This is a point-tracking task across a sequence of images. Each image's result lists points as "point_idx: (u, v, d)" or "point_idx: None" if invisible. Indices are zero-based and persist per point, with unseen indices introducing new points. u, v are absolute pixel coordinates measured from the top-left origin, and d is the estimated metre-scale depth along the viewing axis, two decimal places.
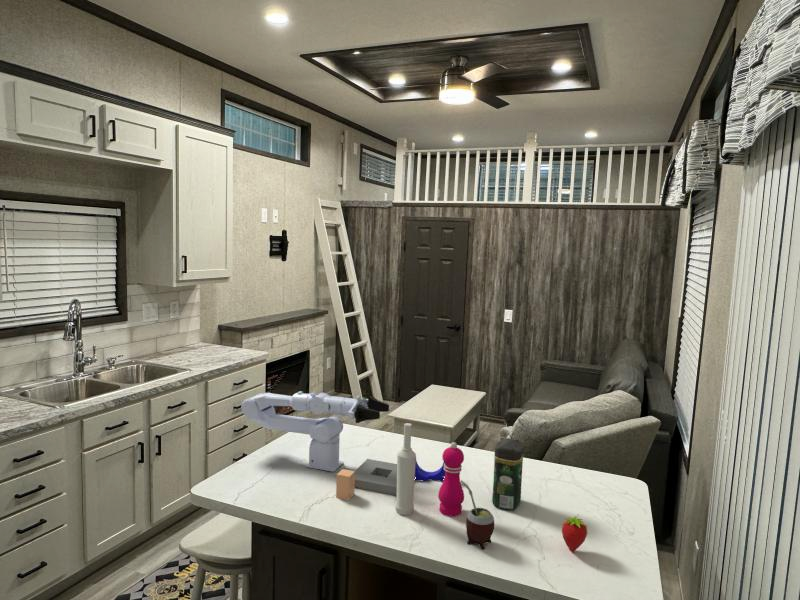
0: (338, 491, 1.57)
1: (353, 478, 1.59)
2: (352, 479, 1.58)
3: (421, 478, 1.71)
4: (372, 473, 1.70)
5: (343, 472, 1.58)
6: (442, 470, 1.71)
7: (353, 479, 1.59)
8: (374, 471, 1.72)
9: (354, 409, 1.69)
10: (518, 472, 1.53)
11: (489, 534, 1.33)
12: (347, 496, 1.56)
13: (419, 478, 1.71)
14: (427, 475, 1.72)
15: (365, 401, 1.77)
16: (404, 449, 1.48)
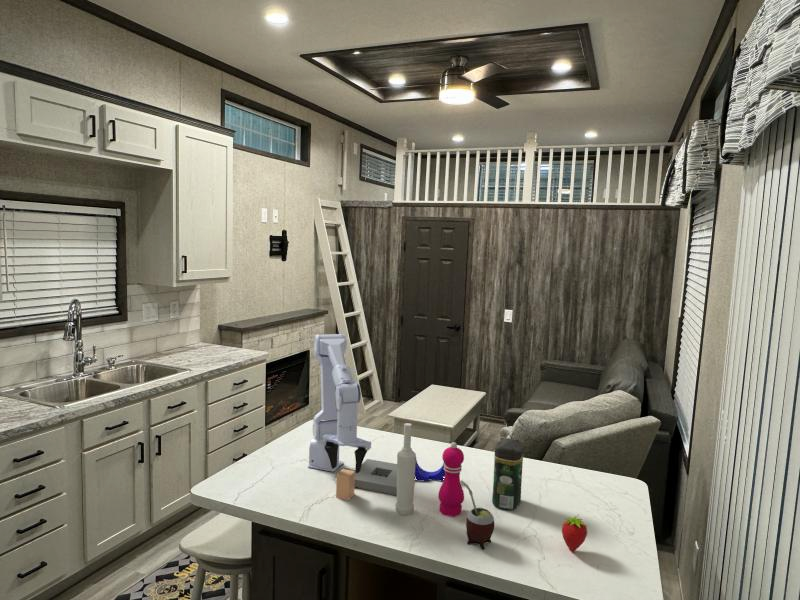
0: (338, 491, 1.57)
1: (353, 478, 1.59)
2: (352, 479, 1.58)
3: (421, 478, 1.71)
4: (372, 473, 1.70)
5: (343, 472, 1.58)
6: (442, 470, 1.71)
7: (353, 479, 1.59)
8: (374, 471, 1.72)
9: None
10: (518, 472, 1.53)
11: (489, 534, 1.33)
12: (347, 496, 1.56)
13: (419, 478, 1.71)
14: (427, 475, 1.72)
15: None
16: (404, 449, 1.48)
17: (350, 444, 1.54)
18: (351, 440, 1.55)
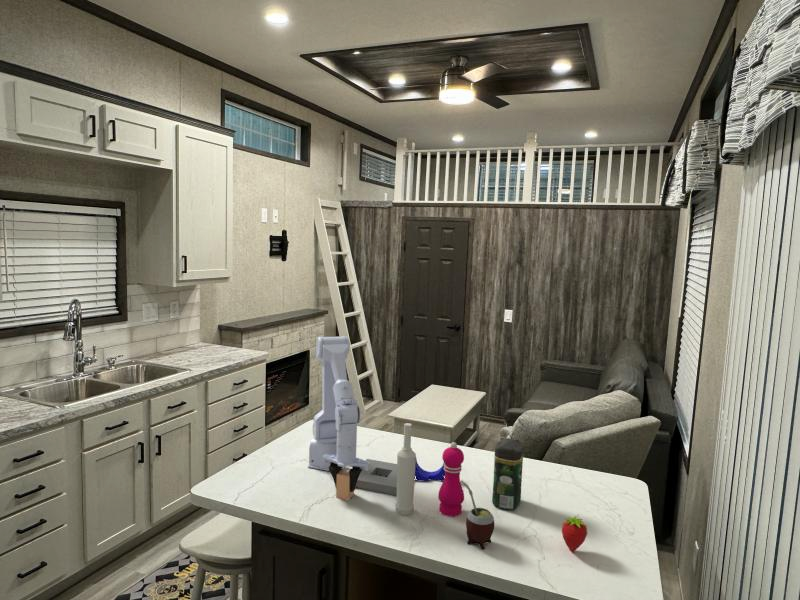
0: (338, 491, 1.57)
1: None
2: None
3: (421, 478, 1.71)
4: (372, 473, 1.70)
5: (343, 472, 1.58)
6: (442, 470, 1.71)
7: None
8: (374, 471, 1.72)
9: None
10: (518, 472, 1.53)
11: (489, 534, 1.33)
12: (347, 496, 1.56)
13: (419, 478, 1.71)
14: (427, 475, 1.72)
15: None
16: (404, 449, 1.48)
17: (349, 464, 1.55)
18: (350, 460, 1.55)
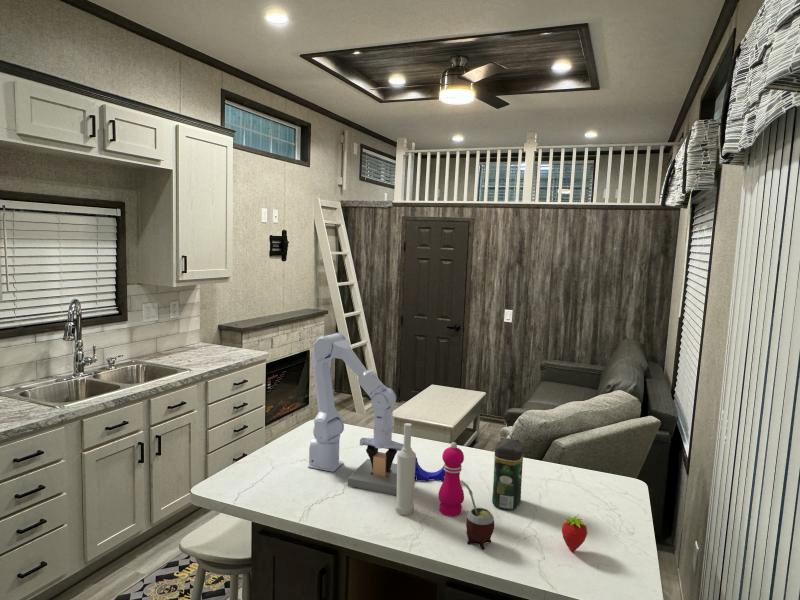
0: (375, 472, 1.68)
1: None
2: None
3: (422, 478, 1.71)
4: (372, 473, 1.70)
5: (379, 454, 1.69)
6: (443, 471, 1.71)
7: None
8: None
9: None
10: (518, 472, 1.53)
11: (489, 534, 1.33)
12: None
13: (420, 478, 1.71)
14: (428, 475, 1.72)
15: None
16: (404, 449, 1.48)
17: (386, 447, 1.66)
18: (386, 442, 1.66)
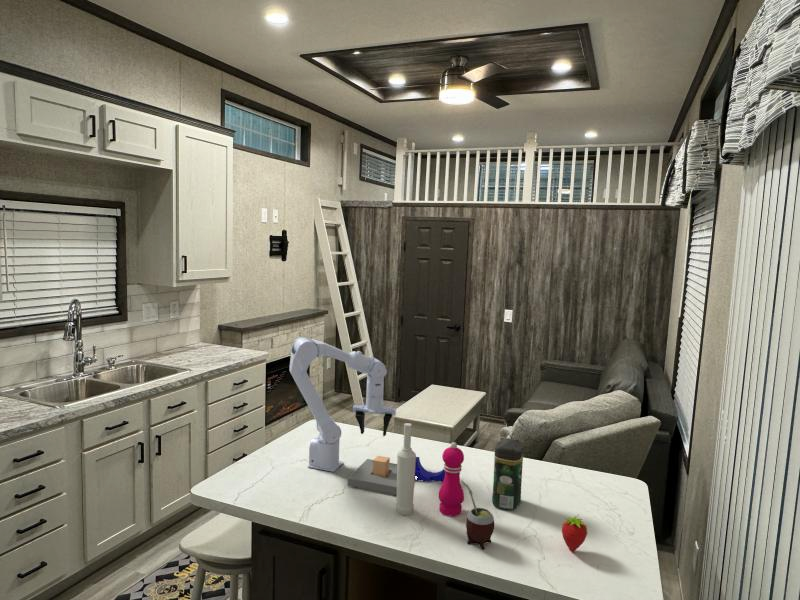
0: None
1: (388, 464, 1.70)
2: (388, 465, 1.69)
3: (423, 478, 1.70)
4: (372, 473, 1.70)
5: (379, 458, 1.69)
6: (444, 471, 1.70)
7: (388, 465, 1.70)
8: None
9: None
10: (518, 472, 1.53)
11: (489, 534, 1.33)
12: None
13: (421, 478, 1.71)
14: (429, 475, 1.71)
15: None
16: (404, 449, 1.48)
17: (379, 411, 1.80)
18: (379, 407, 1.81)
